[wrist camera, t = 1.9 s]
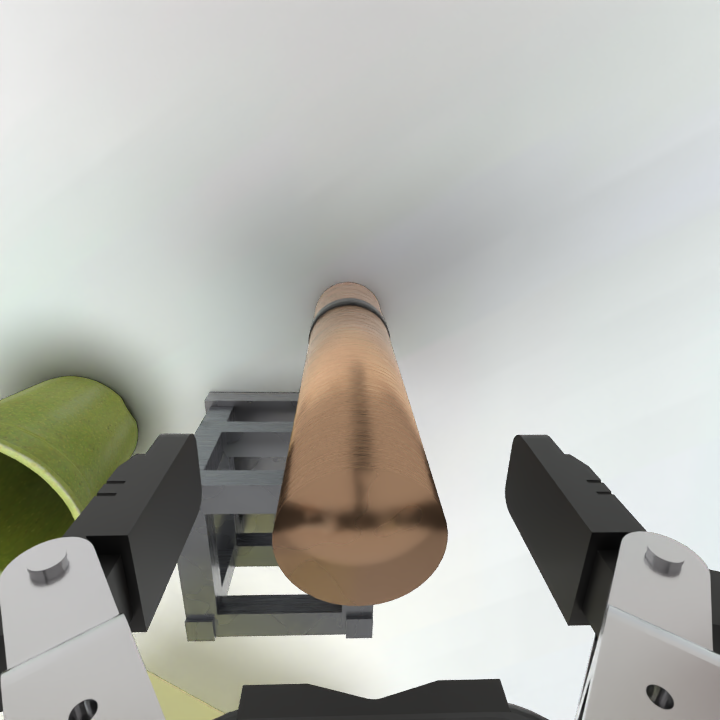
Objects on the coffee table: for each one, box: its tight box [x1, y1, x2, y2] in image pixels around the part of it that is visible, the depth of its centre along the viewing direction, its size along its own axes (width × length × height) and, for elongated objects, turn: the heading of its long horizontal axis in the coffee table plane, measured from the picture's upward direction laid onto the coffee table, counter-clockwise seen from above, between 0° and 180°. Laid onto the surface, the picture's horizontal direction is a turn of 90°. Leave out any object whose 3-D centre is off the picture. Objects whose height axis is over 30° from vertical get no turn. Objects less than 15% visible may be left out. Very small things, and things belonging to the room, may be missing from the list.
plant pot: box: [0, 376, 138, 576], centre depth 21 cm, size 9×9×9 cm
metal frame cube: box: [177, 392, 373, 641], centre depth 23 cm, size 9×9×8 cm
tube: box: [272, 282, 448, 606], centre depth 16 cm, size 4×4×16 cm
